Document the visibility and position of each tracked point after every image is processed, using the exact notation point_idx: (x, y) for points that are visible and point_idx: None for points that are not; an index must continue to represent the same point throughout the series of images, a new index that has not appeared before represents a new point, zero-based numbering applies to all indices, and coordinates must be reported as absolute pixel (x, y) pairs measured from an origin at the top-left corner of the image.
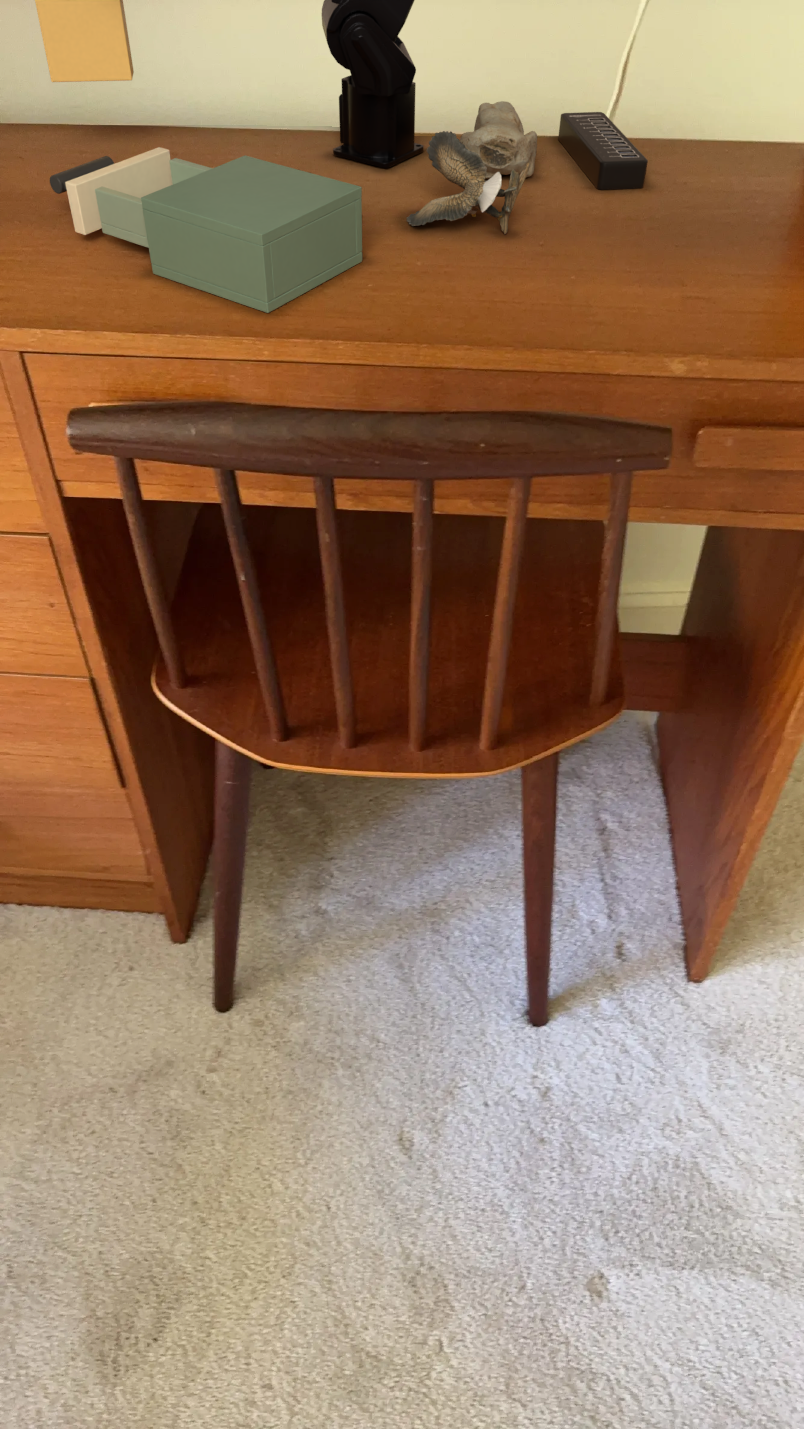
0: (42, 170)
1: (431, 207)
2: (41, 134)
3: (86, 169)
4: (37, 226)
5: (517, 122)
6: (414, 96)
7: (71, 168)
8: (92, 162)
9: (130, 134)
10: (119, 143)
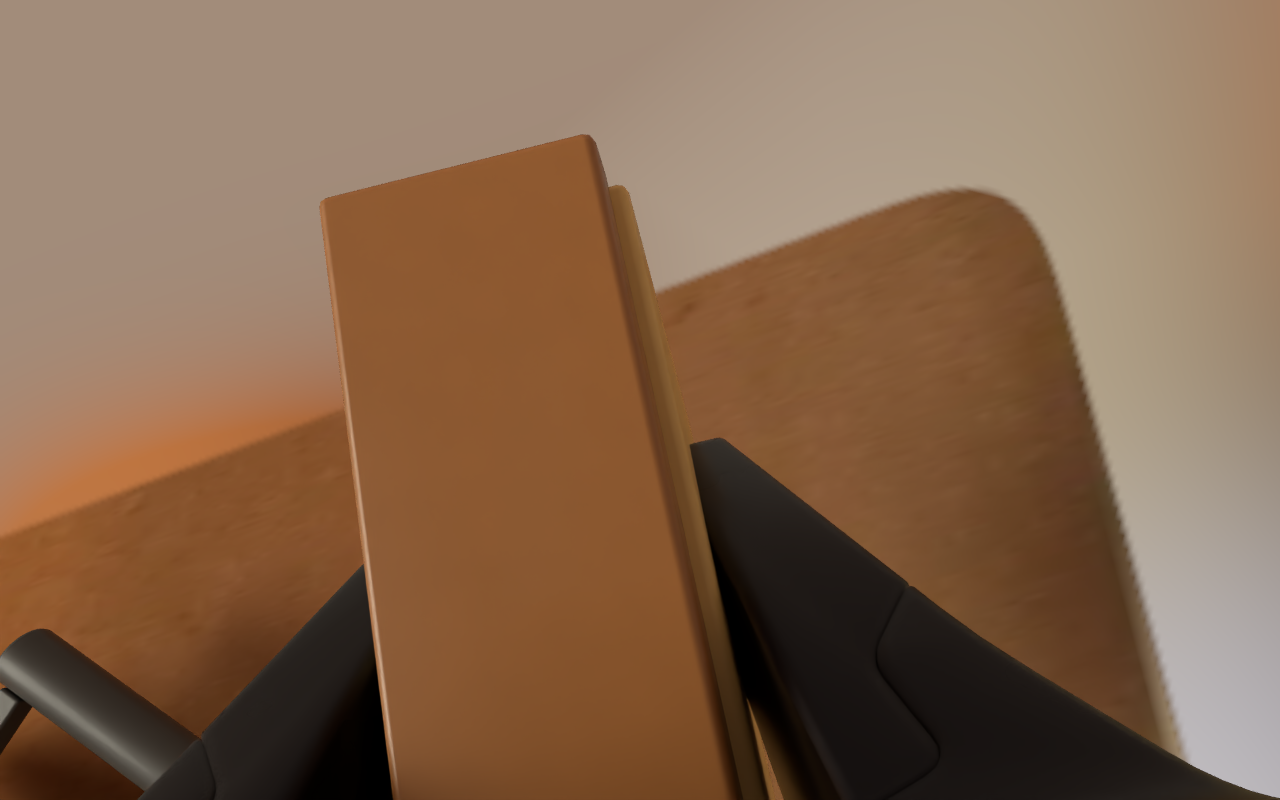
0: None
1: None
2: (946, 287)
3: (92, 748)
4: (101, 572)
5: None
6: None
7: (68, 698)
8: (130, 761)
9: (1024, 624)
10: None
